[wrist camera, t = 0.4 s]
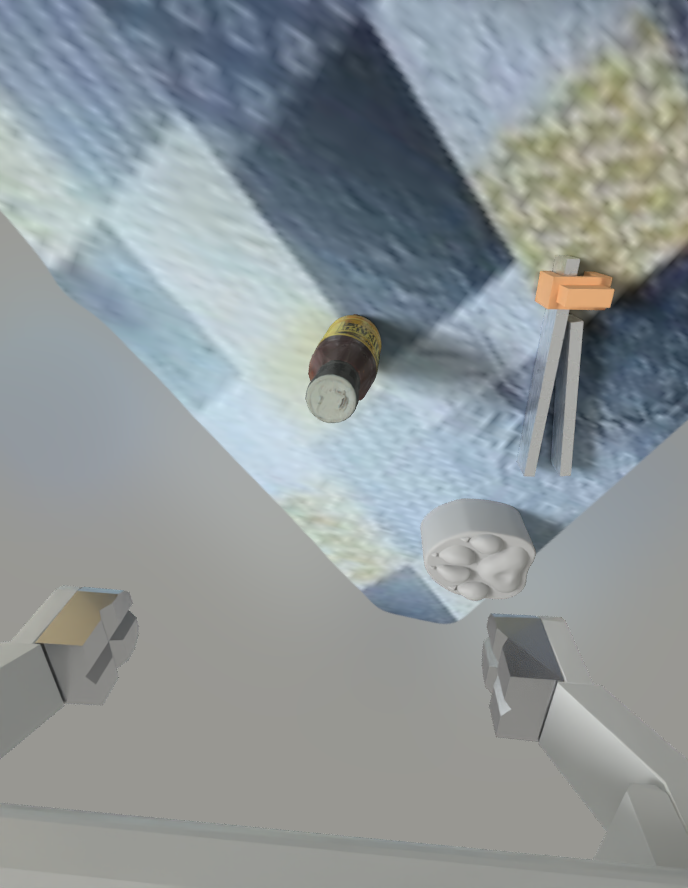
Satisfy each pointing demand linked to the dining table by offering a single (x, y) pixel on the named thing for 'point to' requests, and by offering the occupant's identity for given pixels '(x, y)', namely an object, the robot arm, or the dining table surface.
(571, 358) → the bar
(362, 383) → the sauce bottle
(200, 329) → the dining table surface
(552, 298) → the collar
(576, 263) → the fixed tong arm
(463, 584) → the lumpy-topped squat cylinder
